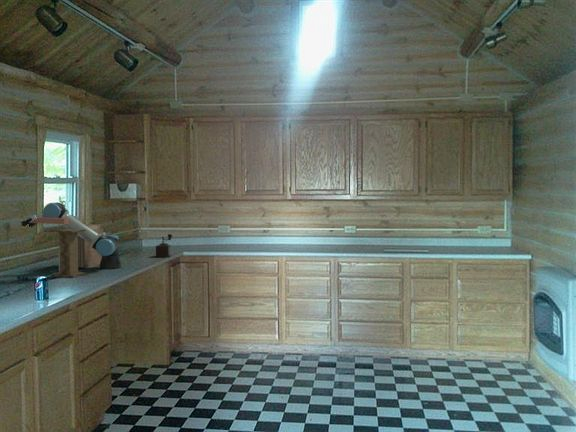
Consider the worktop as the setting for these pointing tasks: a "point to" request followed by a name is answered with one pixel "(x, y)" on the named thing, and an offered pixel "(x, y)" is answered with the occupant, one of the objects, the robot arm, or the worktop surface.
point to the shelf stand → (68, 253)
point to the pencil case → (51, 220)
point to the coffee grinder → (164, 248)
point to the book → (89, 249)
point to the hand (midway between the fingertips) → (38, 216)
